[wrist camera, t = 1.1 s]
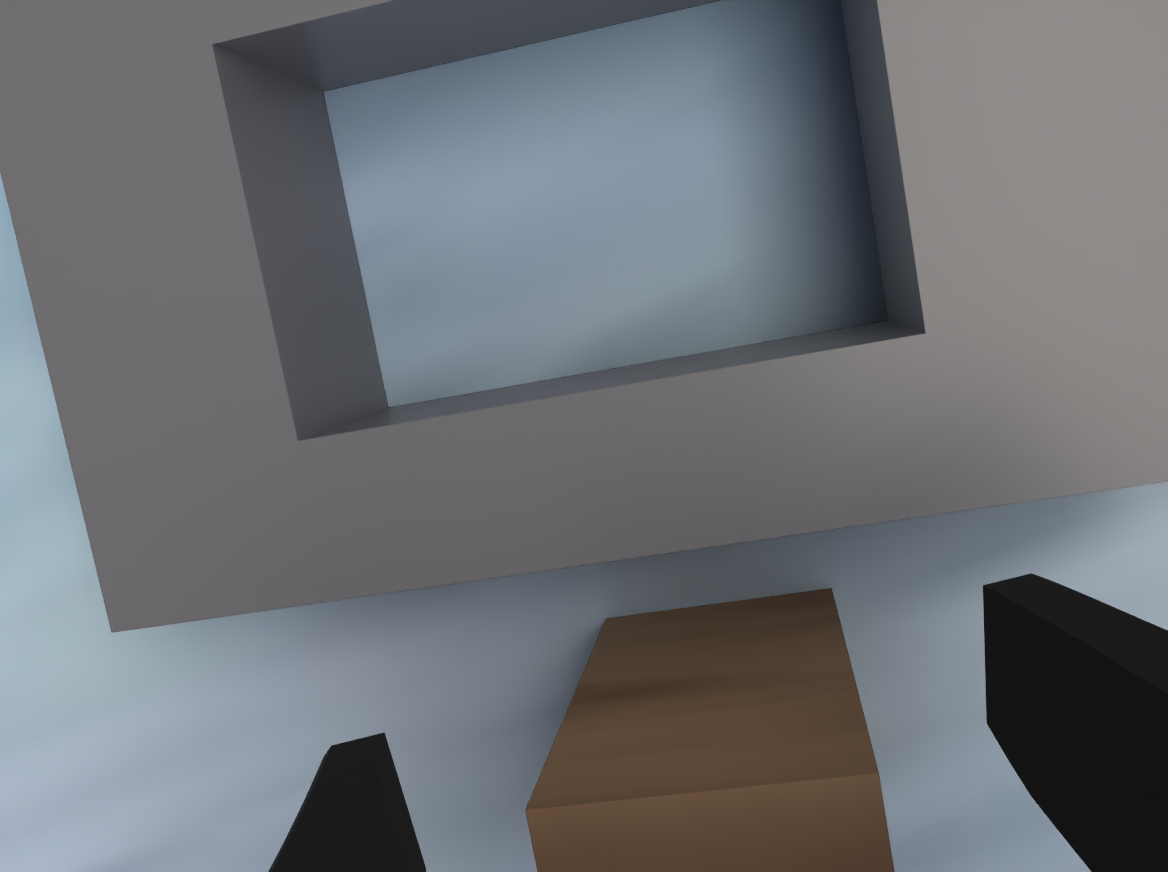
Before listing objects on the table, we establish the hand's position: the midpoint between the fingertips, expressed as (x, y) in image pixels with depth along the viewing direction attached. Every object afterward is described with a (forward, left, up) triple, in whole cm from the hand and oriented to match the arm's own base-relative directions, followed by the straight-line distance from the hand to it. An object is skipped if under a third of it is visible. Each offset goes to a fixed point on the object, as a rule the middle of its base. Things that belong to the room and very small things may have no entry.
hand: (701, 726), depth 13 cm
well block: (+7, +1, -11) cm, 13 cm away
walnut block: (-4, 0, -11) cm, 12 cm away
